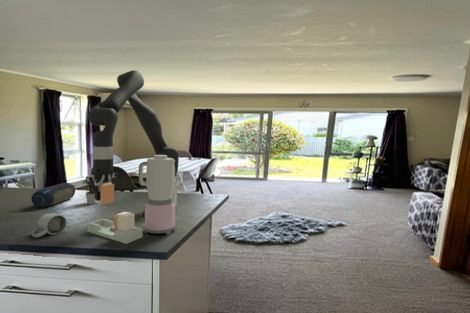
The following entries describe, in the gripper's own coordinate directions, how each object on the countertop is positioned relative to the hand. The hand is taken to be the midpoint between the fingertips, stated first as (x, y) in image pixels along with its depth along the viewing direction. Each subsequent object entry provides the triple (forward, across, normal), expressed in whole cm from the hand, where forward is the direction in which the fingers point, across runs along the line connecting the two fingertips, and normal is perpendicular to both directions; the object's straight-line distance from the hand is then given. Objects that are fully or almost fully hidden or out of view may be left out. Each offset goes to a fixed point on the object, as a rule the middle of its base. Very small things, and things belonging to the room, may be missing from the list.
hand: (103, 199), depth 111 cm
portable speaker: (+14, -13, -59) cm, 62 cm away
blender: (+14, -12, +18) cm, 25 cm away
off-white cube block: (+1, 0, 0) cm, 1 cm away
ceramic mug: (+14, +13, -15) cm, 24 cm away
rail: (+13, 0, +7) cm, 15 cm away
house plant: (+14, -25, -41) cm, 50 cm away
